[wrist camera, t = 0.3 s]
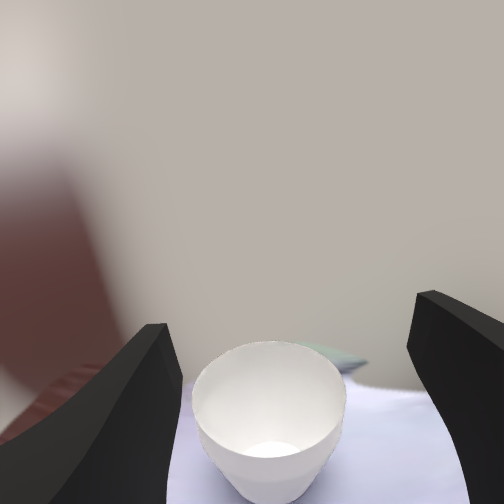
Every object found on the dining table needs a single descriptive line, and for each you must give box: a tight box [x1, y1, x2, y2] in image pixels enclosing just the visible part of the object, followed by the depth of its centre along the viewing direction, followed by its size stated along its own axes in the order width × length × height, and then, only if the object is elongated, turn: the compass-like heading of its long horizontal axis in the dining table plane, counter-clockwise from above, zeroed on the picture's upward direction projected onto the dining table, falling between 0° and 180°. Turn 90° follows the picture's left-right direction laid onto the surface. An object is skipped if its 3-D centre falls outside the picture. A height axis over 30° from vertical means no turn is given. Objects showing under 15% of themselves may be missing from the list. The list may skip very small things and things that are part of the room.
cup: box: [192, 341, 346, 504], centre depth 19 cm, size 9×9×12 cm
